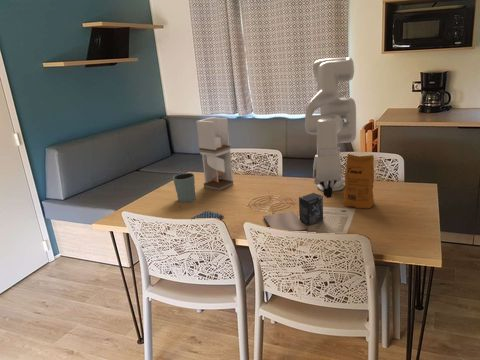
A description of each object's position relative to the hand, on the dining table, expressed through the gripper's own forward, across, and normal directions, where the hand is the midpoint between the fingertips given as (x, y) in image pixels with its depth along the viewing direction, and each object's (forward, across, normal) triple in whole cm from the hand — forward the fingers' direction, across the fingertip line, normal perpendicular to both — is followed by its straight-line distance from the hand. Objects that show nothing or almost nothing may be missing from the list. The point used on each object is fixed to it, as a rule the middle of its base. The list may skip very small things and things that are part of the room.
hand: (327, 196), depth 158 cm
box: (+10, +7, 0) cm, 12 cm away
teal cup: (+10, +53, -47) cm, 72 cm away
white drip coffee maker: (+10, +35, -61) cm, 71 cm away
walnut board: (+9, +18, 0) cm, 20 cm away
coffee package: (+10, -18, -9) cm, 22 cm away
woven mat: (+10, +46, -18) cm, 51 cm away
